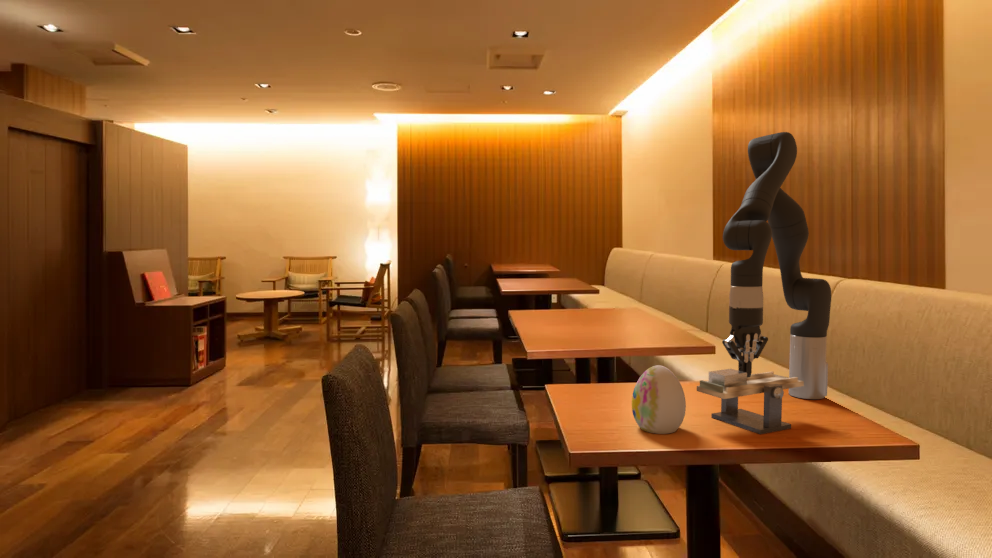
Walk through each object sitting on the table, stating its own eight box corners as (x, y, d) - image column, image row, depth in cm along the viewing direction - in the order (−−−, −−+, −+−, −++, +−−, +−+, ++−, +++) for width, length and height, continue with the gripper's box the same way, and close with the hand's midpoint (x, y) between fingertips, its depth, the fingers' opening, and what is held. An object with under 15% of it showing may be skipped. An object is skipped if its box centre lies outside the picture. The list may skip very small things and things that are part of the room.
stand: (738, 411, 161) (739, 371, 160) (793, 429, 146) (795, 384, 145) (709, 416, 157) (709, 375, 156) (763, 435, 142) (764, 389, 141)
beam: (770, 379, 161) (771, 367, 161) (807, 388, 152) (807, 375, 151) (693, 391, 150) (693, 378, 150) (727, 401, 141) (727, 388, 140)
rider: (730, 382, 152) (730, 368, 152) (746, 387, 147) (747, 372, 147) (708, 386, 149) (708, 371, 149) (724, 390, 144) (724, 375, 144)
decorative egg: (627, 421, 153) (627, 360, 152) (677, 421, 153) (678, 360, 152) (636, 436, 141) (637, 371, 140) (691, 437, 141) (692, 371, 140)
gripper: (753, 301, 155) (752, 371, 156) (713, 305, 149) (712, 376, 150) (779, 304, 148) (777, 377, 149) (737, 308, 142) (736, 383, 144)
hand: (744, 376), depth 150 cm, fingers closed
